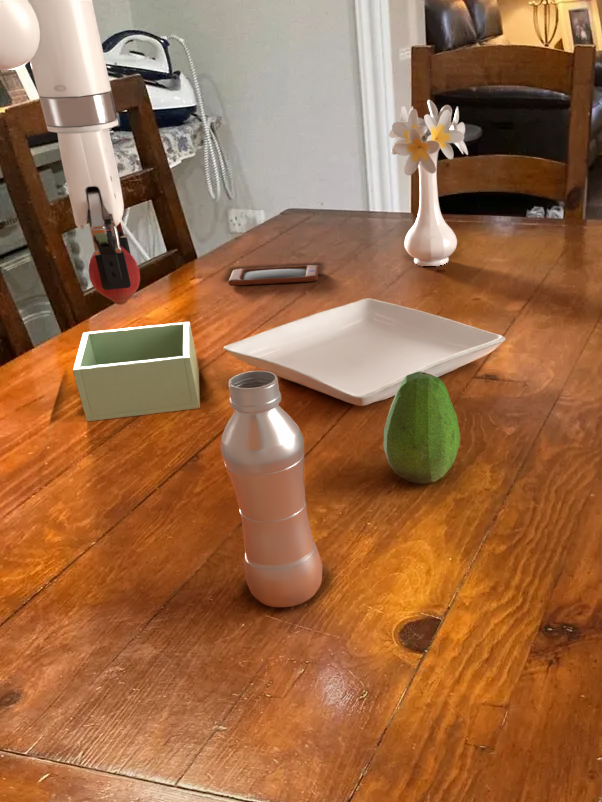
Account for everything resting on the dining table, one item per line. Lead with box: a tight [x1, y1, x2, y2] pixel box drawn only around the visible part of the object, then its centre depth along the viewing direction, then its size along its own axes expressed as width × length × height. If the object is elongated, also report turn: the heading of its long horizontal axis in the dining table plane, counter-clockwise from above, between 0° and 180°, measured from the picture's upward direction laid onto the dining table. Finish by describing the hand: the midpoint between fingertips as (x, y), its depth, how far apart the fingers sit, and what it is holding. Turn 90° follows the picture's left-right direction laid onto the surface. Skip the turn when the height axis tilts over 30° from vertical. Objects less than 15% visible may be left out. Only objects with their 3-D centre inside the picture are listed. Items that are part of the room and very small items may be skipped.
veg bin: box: [72, 321, 201, 422], centre depth 119 cm, size 14×14×7 cm
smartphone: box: [228, 264, 320, 286], centre depth 160 cm, size 7×1×15 cm
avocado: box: [383, 371, 461, 485], centre depth 96 cm, size 8×8×12 cm
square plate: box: [223, 298, 506, 407], centre depth 125 cm, size 27×27×4 cm
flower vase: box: [388, 99, 469, 267], centre depth 158 cm, size 13×18×25 cm
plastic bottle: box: [219, 370, 323, 608], centre depth 76 cm, size 6×7×20 cm
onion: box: [88, 246, 141, 306], centre depth 112 cm, size 6×6×8 cm
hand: (118, 278), depth 112 cm, fingers closed on onion, 5 cm apart
